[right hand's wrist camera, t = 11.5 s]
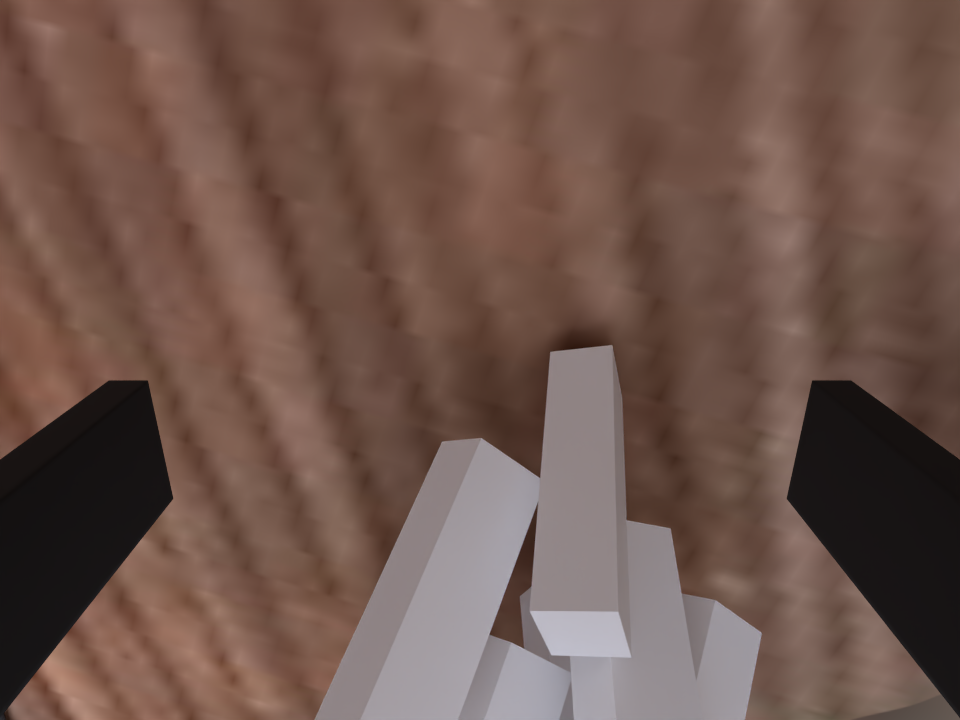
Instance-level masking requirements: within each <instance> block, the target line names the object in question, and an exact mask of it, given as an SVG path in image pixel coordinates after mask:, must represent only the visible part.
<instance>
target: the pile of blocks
mask: <svg viewBox="0 0 960 720" xmlns="http://www.w3.org/2000/svg"><path fill="white" fill-rule="evenodd" d="M537 503H538V512H537V524H536V537H535V549H534V562H533V574H532V586H531V587H530V588H529V589H528V590H527V591H525V592H524V593H523V594H522V595H521V596H520V606H521V617H522V629H523V641H524V649H523V648H521V647H519V646H517V645H515V644H514V643H512V642H509V641H506V640H503V639H500V638H497V637H494V636H491V635H489V634H490V631H491V628H492V626H493V623H494V620H495V618H496V615H497V612H498V609H499V607H500V604H501V601H502V598H503V596H504V593H505V590H506V588H507V585H508V582H509V579H510V577H511V574H512V571H513V569H514V566H515V563H516V560H517V558H518V555H519V552H520V549H521V547H522V544H523V541H524V539H525V536H526V533H527V530H528V528H529V525H530V522H531V519H532V517H533V514H534V511H535V509H536V506H537ZM761 634H762V633H761V632H760V631H758V630H757V629H755V628H754V627H753V626H751V625H750V624H748V623H747V622H746V621H744V620H743V619H741V618H740V617H739V616H737V615H736V614H734V613H733V612H731V611H730V610H729V609H727V608H726V607H724V606H723V605H722V604H720V603H719V602H717V601H716V600H712V599H707V598H702V597H697V596H692V595H686V594H682V593H681V587H680V581H679V575H678V569H677V564H676V558H675V552H674V546H673V540H672V534H671V528H666V527H660V526H655V525H650V524H644V523H639V522H634V521H628V520H627V515H626V487H625V459H624V431H623V403H622V394H621V389H620V383H619V378H618V373H617V367H616V362H615V356H614V351H613V346H612V345H608V346H599V347H590V348H581V349H572V350H563V351H554V352H550V362H549V375H548V387H547V400H546V412H545V425H544V437H543V450H542V462H541V475H540V478H539V477H537V476H536V475H535V474H533V473H532V472H530V471H529V470H527V469H526V468H524V467H523V466H521V465H520V464H519V463H517V462H516V461H514V460H513V459H511V458H510V457H508V456H507V455H505V454H504V453H503V452H501V451H500V450H498V449H497V448H495V447H494V446H492V445H491V444H489V443H488V442H486V441H485V440H484V439H482V438H476V439H465V440H454V441H443V442H442V443H441V445H440V447H439V449H438V452H437V454H436V456H435V458H434V460H433V463H432V465H431V467H430V469H429V471H428V473H427V476H426V478H425V480H424V482H423V484H422V487H421V489H420V491H419V493H418V495H417V497H416V500H415V502H414V504H413V506H412V508H411V510H410V513H409V515H408V517H407V519H406V521H405V524H404V526H403V528H402V530H401V532H400V534H399V537H398V539H397V541H396V543H395V545H394V548H393V550H392V552H391V554H390V556H389V558H388V561H387V563H386V565H385V567H384V569H383V572H382V574H381V576H380V578H379V580H378V582H377V585H376V587H375V589H374V591H373V593H372V595H371V598H370V600H369V602H368V604H367V606H366V609H365V611H364V613H363V615H362V617H361V619H360V622H359V624H358V626H357V628H356V630H355V633H354V635H353V637H352V639H351V641H350V643H349V646H348V648H347V650H346V652H345V654H344V657H343V659H342V661H341V663H340V665H339V667H338V670H337V672H336V674H335V676H334V678H333V680H332V683H331V685H330V687H329V689H328V691H327V694H326V696H325V698H324V700H323V702H322V704H321V707H320V709H319V711H318V713H317V715H316V718H315V720H745V716H746V711H747V706H748V701H749V696H750V690H751V685H752V680H753V675H754V670H755V665H756V660H757V655H758V650H759V645H760V640H761Z"/></svg>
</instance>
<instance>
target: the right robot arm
mask: <svg viewBox="0 0 960 720" xmlns="http://www.w3.org/2000/svg"><path fill="white" fill-rule="evenodd" d="M172 500H173V495H172V491H171V486H170V481H169V477H168V472H167V467H166V463H165V458H164V454H163V449H162V444H161V440H160V435H159V430H158V426H157V421H156V417H155V412H154V407H153V403H152V398H151V393H150V389H149V384H148V381H108V382H106V383H105V384H104V385H102V386H101V387H99V388H98V389H97V390H95V391H94V392H93V393H91V394H90V395H88V396H87V397H86V398H84V399H83V400H82V401H80V402H79V403H77V404H76V405H75V406H73V407H72V408H71V409H69V410H68V411H66V412H65V413H64V414H62V415H61V416H60V417H58V418H57V419H55V420H54V421H53V422H51V423H50V424H49V425H47V426H46V427H44V428H43V429H42V430H40V431H39V432H38V433H36V434H35V435H33V436H32V437H31V438H29V439H28V440H27V441H25V442H24V443H22V444H21V445H20V446H18V447H17V448H16V449H14V450H13V451H12V452H10V453H9V454H7V455H6V456H5V457H3V458H2V459H1V460H0V720H6V718H5V715H4V712H5V711H6V710H7V708H8V707H9V706H10V705H11V703H12V702H13V701H14V700H15V698H16V697H17V696H18V694H19V693H20V692H21V691H22V689H23V688H24V687H25V686H26V684H27V683H28V682H29V681H30V679H31V678H32V677H33V675H34V674H35V673H36V672H37V670H38V669H39V668H40V667H41V665H42V664H43V663H44V662H45V660H46V659H47V658H48V656H49V655H50V654H51V653H52V651H53V650H54V649H55V648H56V646H57V645H58V644H59V643H60V641H61V640H62V639H63V638H64V636H65V635H66V634H67V632H68V631H69V630H70V629H71V627H72V626H73V625H74V624H75V622H76V621H77V620H78V619H79V617H80V616H81V615H82V613H83V612H84V611H85V610H86V608H87V607H88V606H89V605H90V603H91V602H92V601H93V600H94V598H95V597H96V596H97V594H98V593H99V592H100V591H101V589H102V588H103V587H104V586H105V584H106V583H107V582H108V581H109V579H110V578H111V577H112V576H113V574H114V573H115V572H116V570H117V569H118V568H119V567H120V565H121V564H122V563H123V562H124V560H125V559H126V558H127V557H128V555H129V554H130V553H131V551H132V550H133V549H134V548H135V546H136V545H137V544H138V543H139V541H140V540H141V539H142V538H143V536H144V535H145V534H146V532H147V531H148V530H149V529H150V527H151V526H152V525H153V524H154V522H155V521H156V520H157V519H158V517H159V516H160V515H161V514H162V512H163V511H164V510H165V508H166V507H167V506H168V505H169V503H170V502H171V501H172ZM787 500H788V501H789V502H790V503H791V505H792V506H793V507H794V508H795V510H796V511H797V512H798V514H799V515H800V516H801V517H802V519H803V520H804V521H805V522H806V524H807V525H808V526H809V527H810V529H811V530H812V531H813V532H814V534H815V535H816V536H817V538H818V539H819V540H820V541H821V543H822V544H823V545H824V546H825V548H826V549H827V550H828V551H829V553H830V554H831V555H832V557H833V558H834V559H835V560H836V562H837V563H838V564H839V565H840V567H841V568H842V569H843V570H844V572H845V573H846V574H847V576H848V577H849V578H850V579H851V581H852V582H853V583H854V584H855V586H856V587H857V588H858V589H859V591H860V592H861V593H862V594H863V596H864V597H865V598H866V600H867V601H868V602H869V603H870V605H871V606H872V607H873V608H874V610H875V611H876V612H877V613H878V615H879V616H880V617H881V619H882V620H883V621H884V622H885V624H886V625H887V626H888V627H889V629H890V630H891V631H892V632H893V634H894V635H895V636H896V638H897V639H898V640H899V641H900V643H901V644H902V645H903V646H904V648H905V649H906V650H907V651H908V653H909V654H910V655H911V656H912V658H913V659H914V660H915V662H916V663H917V664H918V665H919V667H920V668H921V669H922V670H923V672H924V673H925V674H926V675H927V677H928V678H929V679H930V681H931V682H932V683H933V684H934V686H935V687H936V688H937V689H938V691H939V692H940V693H941V694H942V696H943V697H944V698H945V699H946V701H947V702H948V703H949V705H950V706H951V707H952V708H953V710H954V711H955V712H956V713H957V715H958V716H959V717H960V460H959V459H958V458H957V457H955V456H954V455H953V454H951V453H950V452H948V451H947V450H946V449H944V448H943V447H942V446H940V445H939V444H937V443H936V442H935V441H933V440H932V439H931V438H929V437H928V436H927V435H925V434H924V433H922V432H921V431H920V430H918V429H917V428H916V427H914V426H913V425H911V424H910V423H909V422H907V421H906V420H905V419H903V418H902V417H900V416H899V415H898V414H896V413H895V412H894V411H892V410H891V409H889V408H888V407H887V406H885V405H884V404H883V403H881V402H880V401H878V400H877V399H876V398H874V397H873V396H872V395H870V394H869V393H867V392H866V391H865V390H863V389H862V388H861V387H859V386H858V385H856V384H855V383H854V382H852V381H812V384H811V389H810V393H809V398H808V403H807V407H806V412H805V417H804V421H803V426H802V430H801V435H800V440H799V444H798V449H797V454H796V458H795V463H794V467H793V472H792V477H791V481H790V486H789V491H788V495H787Z"/></svg>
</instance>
